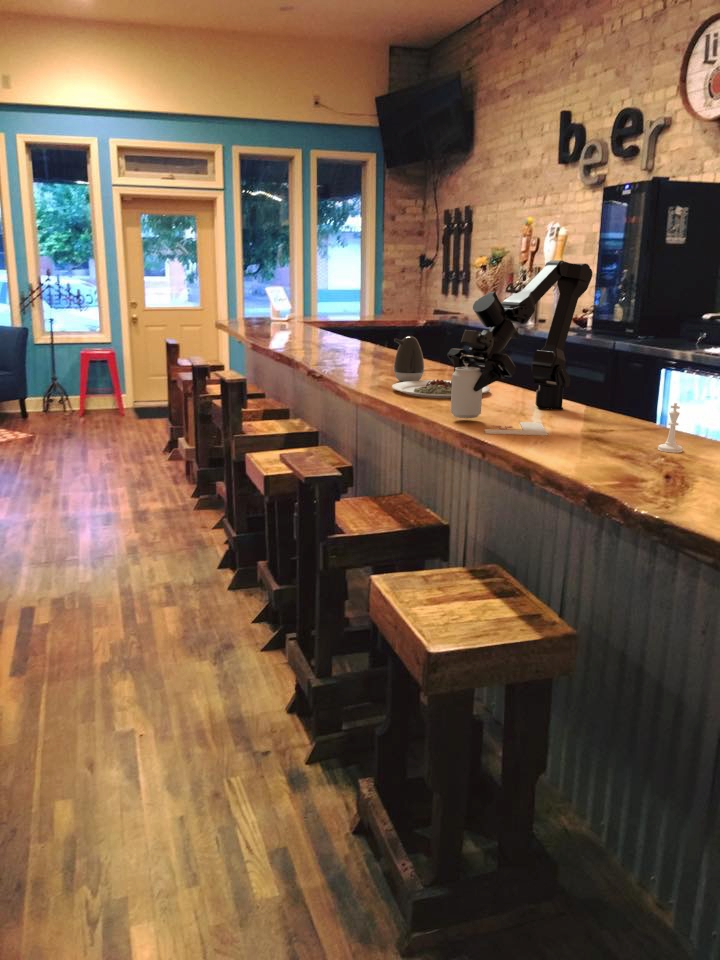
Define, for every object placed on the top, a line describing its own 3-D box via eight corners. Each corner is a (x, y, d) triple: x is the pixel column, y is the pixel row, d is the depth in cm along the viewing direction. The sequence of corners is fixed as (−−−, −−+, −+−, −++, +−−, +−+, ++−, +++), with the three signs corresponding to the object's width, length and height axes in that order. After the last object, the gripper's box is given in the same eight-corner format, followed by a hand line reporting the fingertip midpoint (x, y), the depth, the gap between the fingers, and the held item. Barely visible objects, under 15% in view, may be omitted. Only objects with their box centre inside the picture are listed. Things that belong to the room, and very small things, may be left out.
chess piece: (662, 446, 167) (667, 400, 164) (685, 449, 164) (691, 403, 161) (654, 450, 163) (659, 403, 160) (678, 453, 160) (684, 405, 157)
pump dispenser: (389, 379, 264) (390, 334, 260) (419, 379, 266) (420, 334, 262) (396, 384, 254) (397, 337, 250) (427, 383, 256) (428, 337, 252)
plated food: (418, 403, 220) (418, 391, 219) (376, 388, 247) (376, 377, 246) (508, 398, 231) (509, 386, 230) (459, 384, 258) (459, 374, 257)
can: (464, 420, 187) (466, 370, 184) (444, 415, 193) (445, 366, 190) (487, 417, 191) (489, 368, 188) (467, 412, 197) (469, 365, 194)
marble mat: (540, 424, 190) (540, 422, 190) (547, 435, 176) (547, 434, 176) (482, 422, 191) (482, 420, 191) (485, 433, 178) (485, 432, 178)
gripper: (453, 315, 195) (420, 363, 191) (510, 319, 181) (475, 371, 177) (473, 345, 202) (442, 391, 198) (530, 351, 188) (497, 401, 184)
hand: (462, 388), depth 189 cm, fingers closed on can, 7 cm apart
